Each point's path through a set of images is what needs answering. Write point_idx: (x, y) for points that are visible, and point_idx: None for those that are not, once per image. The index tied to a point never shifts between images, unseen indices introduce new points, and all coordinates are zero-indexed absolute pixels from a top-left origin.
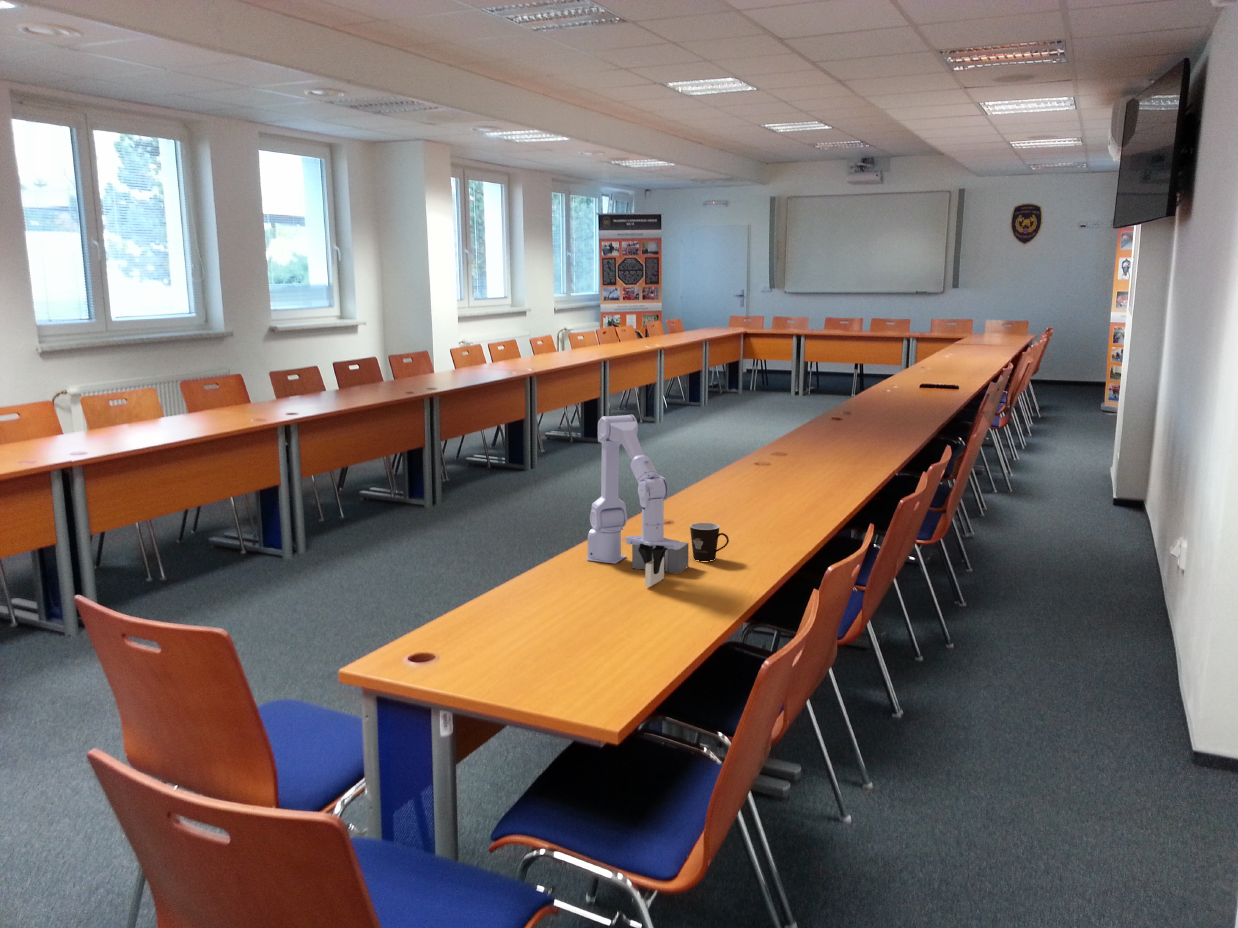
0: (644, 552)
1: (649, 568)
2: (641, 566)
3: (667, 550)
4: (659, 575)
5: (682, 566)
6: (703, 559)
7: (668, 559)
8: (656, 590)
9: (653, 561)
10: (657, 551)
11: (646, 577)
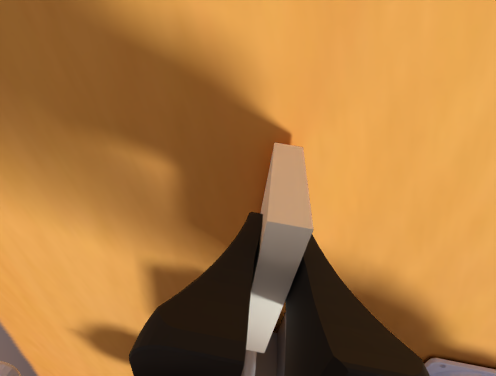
0: (344, 336)
1: (279, 199)
2: None
3: None
4: None
5: None
6: None
7: (245, 353)
8: (241, 124)
9: (269, 286)
10: (175, 331)
11: (298, 168)
